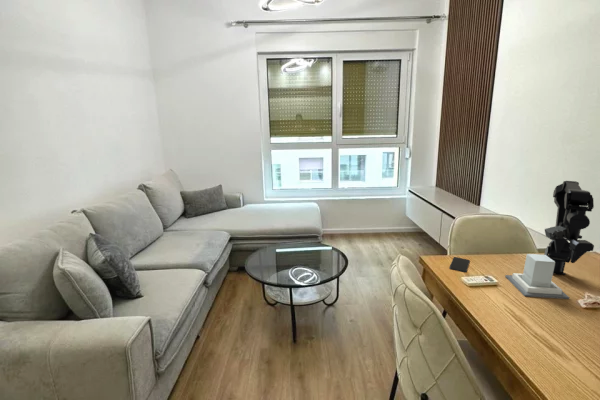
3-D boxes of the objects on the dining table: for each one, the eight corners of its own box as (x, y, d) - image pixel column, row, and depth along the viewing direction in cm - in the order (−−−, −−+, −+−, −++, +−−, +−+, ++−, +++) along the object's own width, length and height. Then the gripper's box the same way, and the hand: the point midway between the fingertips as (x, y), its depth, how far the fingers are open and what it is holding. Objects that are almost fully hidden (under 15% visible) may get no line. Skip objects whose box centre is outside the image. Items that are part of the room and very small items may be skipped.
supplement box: (550, 290, 128) (556, 262, 124) (529, 289, 129) (535, 260, 126) (540, 281, 135) (546, 254, 131) (521, 280, 136) (526, 253, 133)
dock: (544, 278, 139) (545, 273, 138) (569, 299, 123) (570, 292, 123) (505, 276, 141) (506, 270, 140) (524, 296, 126) (525, 289, 125)
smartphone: (453, 257, 161) (448, 269, 149) (453, 256, 161) (448, 267, 149) (469, 261, 157) (466, 273, 145) (470, 259, 157) (466, 271, 145)
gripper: (537, 214, 135) (530, 247, 139) (565, 228, 117) (557, 267, 121) (565, 214, 134) (558, 249, 138) (599, 230, 116) (589, 268, 120)
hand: (564, 257), depth 129 cm, fingers open, 9 cm apart
